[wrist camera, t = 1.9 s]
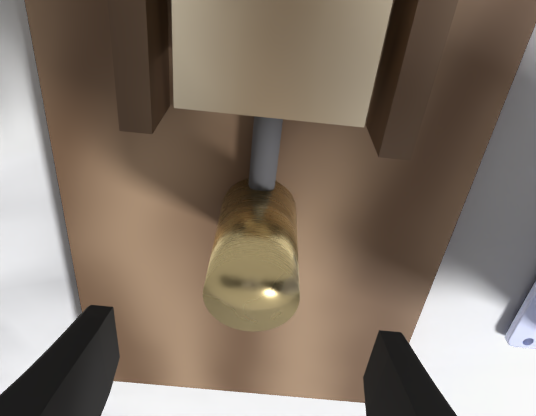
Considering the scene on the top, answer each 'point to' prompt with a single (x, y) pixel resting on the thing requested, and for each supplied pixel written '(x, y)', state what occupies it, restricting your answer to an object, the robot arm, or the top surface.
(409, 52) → the walnut lane shelf
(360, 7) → the cream block with stem
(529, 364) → the top surface
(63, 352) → the robot arm
